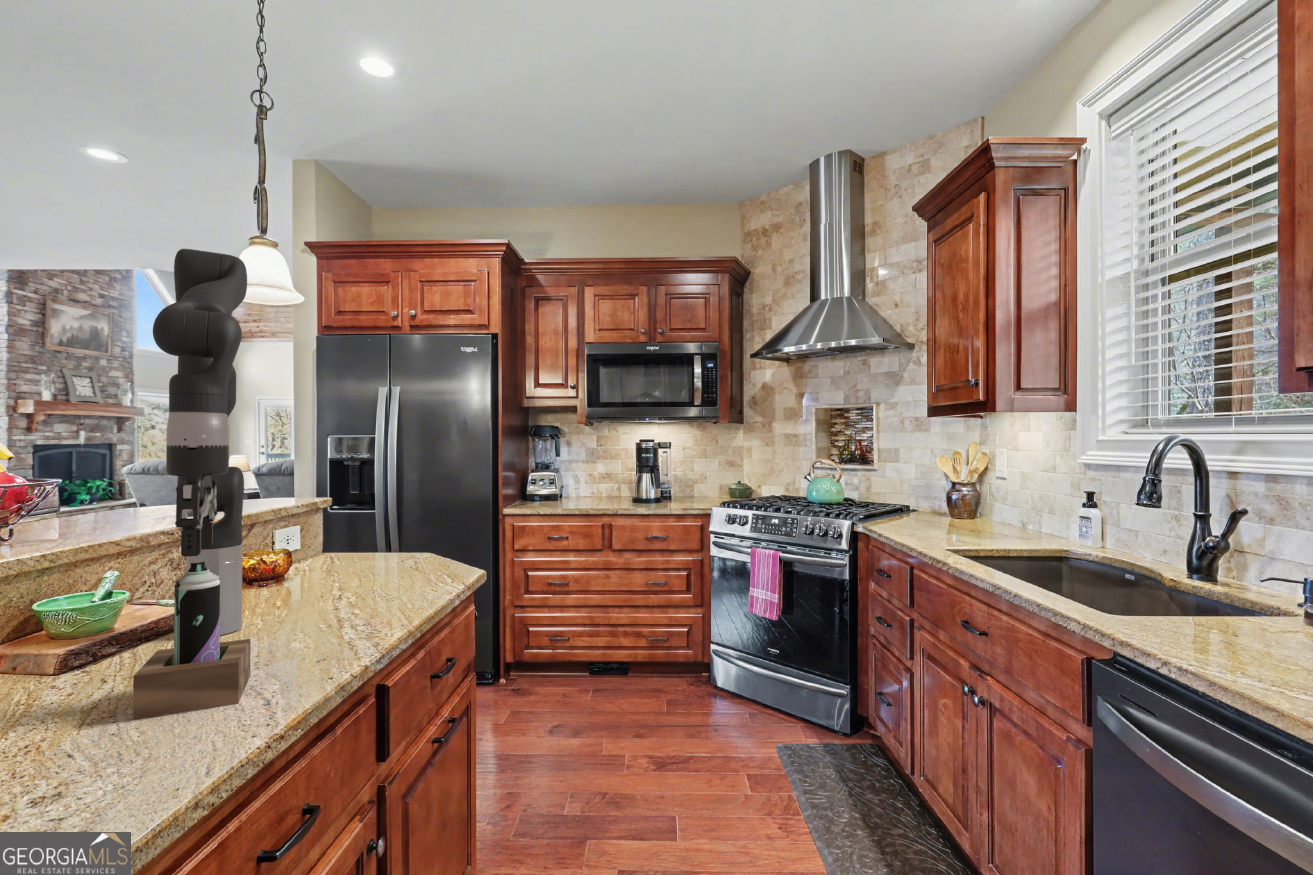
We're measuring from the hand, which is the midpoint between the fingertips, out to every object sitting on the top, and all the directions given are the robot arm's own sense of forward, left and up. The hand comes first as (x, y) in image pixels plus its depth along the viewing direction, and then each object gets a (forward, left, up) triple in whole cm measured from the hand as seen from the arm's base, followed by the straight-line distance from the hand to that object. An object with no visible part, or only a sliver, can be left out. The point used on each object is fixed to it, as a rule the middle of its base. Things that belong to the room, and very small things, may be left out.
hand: (197, 551), depth 92 cm
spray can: (0, 0, -22) cm, 22 cm away
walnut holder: (0, 0, -22) cm, 22 cm away
